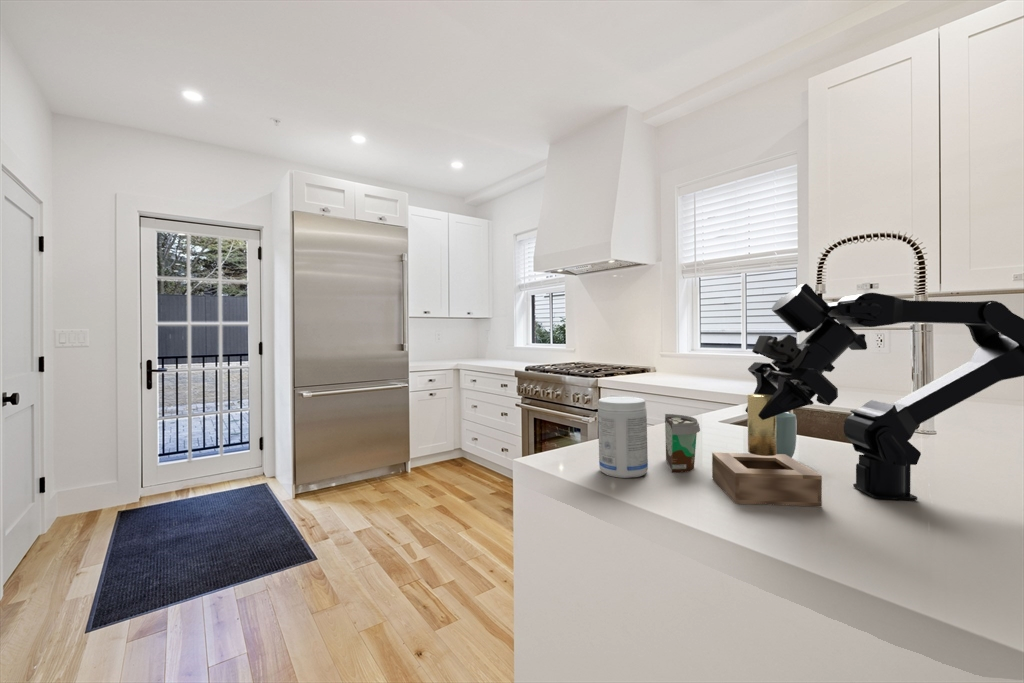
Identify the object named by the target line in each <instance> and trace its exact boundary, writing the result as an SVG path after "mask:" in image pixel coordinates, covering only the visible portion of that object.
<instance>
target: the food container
mask: <svg viewBox="0 0 1024 683" xmlns="http://www.w3.org/2000/svg"><path fill="white" fill-rule="evenodd" d="M664 423H665V424H664V427H665V428H664V432H665V461H666V463H667V465H668V467H669V469H670V471H671V472H670V473H673V474H674V473H675V474H680V473H681V474H683V473H688V472H692V471H693V470H694V469H695V464H696V463H695V462H696V461H695V460H696V449H697V448H696V447H697V435H698V434H697V433H700V432H701V428H700V423H699V421H698V419H697V418H695V417H693V416H689V415H683V414H677V413H676V414H674V413H664Z"/></svg>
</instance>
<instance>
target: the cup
mask: <svg viewBox="0 0 1024 683" xmlns="http://www.w3.org/2000/svg"><path fill="white" fill-rule="evenodd" d="M797 423H798V422H797V415H796V414H795V413H793V412H789V411H787V412H784V413H781V414H779V415H776V442H777V454H786V455H787V456H789V457H791V458H792V459H793V457H794V454H795V451H796V447H797V432H798V430H797V427H798V425H797Z"/></svg>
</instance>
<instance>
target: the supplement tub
mask: <svg viewBox="0 0 1024 683" xmlns="http://www.w3.org/2000/svg"><path fill="white" fill-rule="evenodd" d="M597 401H598V405H597V424H598V425H597V426H598V428H597V429H598V430H597V431H598V463H599V465H598V466H599V470H600V472H602V474H605V475H607V476H611V477H613V478H621V479H629V478H638V477H639V478H640V477H642V476H644V475H645V474H647V472H648V470H649V464H648V463H649V460H648V459H649V458H648V456H649V454H648V420H647V419H648V418H647V417H648V416H647V404H646V399H644V398H641V397H635V396H608V397H607V396H605V397H602V398H599V399H598V400H597Z"/></svg>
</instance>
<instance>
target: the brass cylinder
mask: <svg viewBox="0 0 1024 683" xmlns="http://www.w3.org/2000/svg"><path fill="white" fill-rule="evenodd" d="M772 396H773V395H768V394H754V393H750V394H747V396H746V397H747V406H748V413H747V452H748V453H751V454H755V455H761V456H774V455H776V454H777V442H776V416H773V417H770V418H767V419H765V420H762V419H761V418H760V417H759V416H758V414H759V413H760V411H761V410H762V409H763V407H764V406H765V405H766V403H767V402H768V401H769V400H770V398H771V397H772Z"/></svg>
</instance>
